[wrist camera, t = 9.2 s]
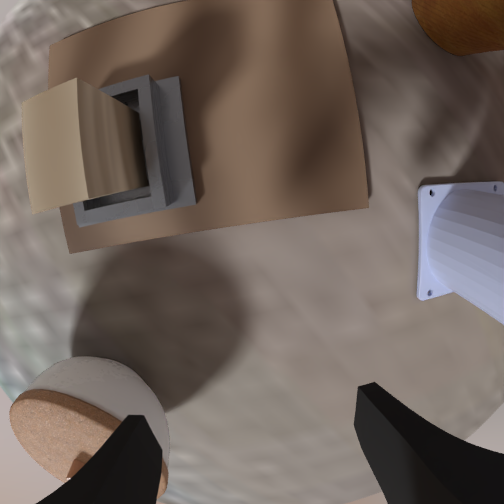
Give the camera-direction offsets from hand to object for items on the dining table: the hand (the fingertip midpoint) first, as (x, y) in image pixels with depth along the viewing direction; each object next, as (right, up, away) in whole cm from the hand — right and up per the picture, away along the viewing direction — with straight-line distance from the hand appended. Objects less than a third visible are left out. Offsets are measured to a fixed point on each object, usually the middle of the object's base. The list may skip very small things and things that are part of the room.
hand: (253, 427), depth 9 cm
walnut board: (-3, +14, +6) cm, 16 cm away
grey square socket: (-7, +11, +7) cm, 15 cm away
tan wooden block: (-7, +11, +5) cm, 14 cm away
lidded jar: (-11, -5, +11) cm, 16 cm away
